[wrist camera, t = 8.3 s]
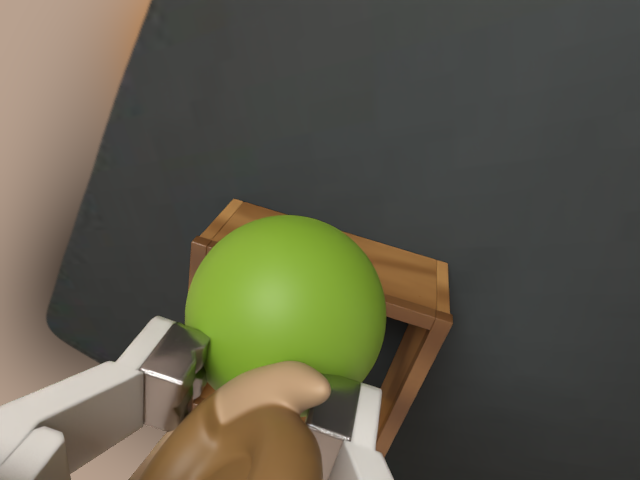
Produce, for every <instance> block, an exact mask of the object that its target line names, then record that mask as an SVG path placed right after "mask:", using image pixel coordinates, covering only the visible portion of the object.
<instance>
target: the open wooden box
mask: <svg viewBox="0 0 640 480" xmlns="http://www.w3.org/2000/svg"><path fill="white" fill-rule="evenodd" d="M278 215H286V214H283V213H280V212H276V211H273V210H270V209H267V208H263V207H260V206H257V205H253V204H250V203H247V202H243V201H240V200H237V199H233V200H232V201H231V202H230V203H229V204H228V206H227V207H226V208H225V209H224V210H223V211H222V212H221V213H220V214H219V215H218V217H217V218H216V219H215V220H214V221H213V222H212V223H211V224H210V225H209V227H208V228H207V229H206V230H205V231H204V232H203V233H202V234H201V235H200V236H196V237H195V239H194V240H193V241H192V242H191V257H190V272H189V287H188V292H189V288H190V285H191V282H192V280H193V277H194V275H195V273H196V271H197V269H198V267H199V265H200V264H201V262H202V261H203V259H204V258H205V256H206V255H207V254H208V253H209V251H210V250H211V249H212V248H213V247H214V246H215V245H216V244H217V243H218V242H219V241H220V240H221V239H222V238H224V237H225V236H226V235H228V234H229V233H230V232H232V231H234V230H235V229H237V228H239V227H240V226H242V225H245V224H247V223H249V222H252V221H254V220H258V219H261V218H265V217H270V216H278ZM342 232H343V231H342ZM343 233H344V234H346V235H347V236H348V237H350V238H351V239H352V240H353V241H354V242H355V243H356V244H357V245H358V246H359V247H360V248H361V249H362V250H363V251H364V253H365V254H366V255H367V257H368V258H369V260H370V261H371V263H372V264H373V266H374V268H375V270H376V272H377V274H378V277H379V279H380V282H381V285H382V288H383V292H384V297H385V303H386V317H390V318H393V319H396V320H399V321H402V322H406V323H409V325H408V327H407V329H406V331H405V334H404V336H403V338H402V340H401V343H400V345H399V347H398V350H397V352H396V354H395V356H394V359H393V361H392V363H391V366H390V368H389V370H388V372H387V375H386V377H385V379H384V382H383V384H382V386H381V388H380V389H381V390H382V399H381V408H380V416H379V425H378V433H377V441H376V451H378V452H381V453H382V455H383V457H385V455H386V453H387V451H388V450H389V448H390V446H391V444H392V442H393V440H394V438H395V436H396V434H397V432H398V430H399V428H400V426H401V424H402V422H403V420H404V418H405V416H406V414H407V412H408V410H409V409H410V407H411V405H412V403H413V401H414V399H415V397H416V395H417V393H418V391H419V389H420V387H421V385H422V383H423V381H424V379H425V377H426V375H427V373H428V371H429V369H430V367H431V366H432V364H433V362H434V360H435V358H436V356H437V354H438V352H439V350H440V348H441V346H442V344H443V342H444V340H445V338H446V336H447V334H448V332H449V330H450V328H451V326H452V325H453V315H452V314H450V302H449V280H448V263H445V262H442V261H438V260H437V261H436V260H435V259H432V258H429V257H425V256H422V255H419V254H415V253H412V252H409V251H405V250H402V249H399V248H396V247H392V246H389V245H386V244H382V243H379V242H376V241H372V240H369V239H366V238H362V237H359V236H356V235H353V234H349V233H346V232H343ZM214 392H215V390H214V389H213V388H212V387H211V385H210V384H209V383H208V382H207V384H206V386H205V388H204V390H203V392H202V394H201V395H200V396H199V397H198V398H196V399H194V400H193V402H192V410H193V409H194V408H195V407H196V406H197V405H199V404H200V403H201V402H202V401H203V400H204V399H206V398H207V397H208V396H210V395H211V394H213V393H214ZM300 418H301V419H302V420H303V421H304V423H305V420H306V416H305V417H300Z"/></svg>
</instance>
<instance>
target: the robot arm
mask: <svg viewBox="0 0 640 480" xmlns="http://www.w3.org/2000/svg"><path fill="white" fill-rule="evenodd" d="M209 343H210V337H209V336H207V335H206V334H205V333H203V332H202V331H201V330H198V329H195V328H192V327H190V326H187V325H184V324H181V323H178V322H175V321H172V320H169V319H166V318H163V317H160V316H156V317H154V318H153V319H151V320H150V322H149V323H148V324H147V325H146V326H145V328H144V329H143V330H142V331H141V332H140V334H139V335H138V336H137V337H136V338H135V340H134V341H133V342H132V343H131V344H130V345H129V347H128V348H127V349H126V350H125V351H124V353H123V354H122V355H121V356H120V357H119V359H118V360H117V361H116V362H112V361H107V362H105V363H103V364H100V365H98V366H96V367H93V368H91V369H88V370H86V371H83V372H81V373H79V374H76V375H74V376H71V377H69V378H67V379H64V380H62V381H59V382H57V383H55V384H52V385H50V386H47V387H45V388H43V389H41V390H38V391H36V392H33V393H31V394H28V395H26V396H24V397H21V398H19V399H17V400H14V401H12V402H9V403H7V404H4V405H2V406H0V480H71V478H70V474H71V473H72V472H74V471H76V470H77V469H79V468H80V467H82V466H83V465H85V464H86V463H88V462H89V461H91V460H93V459H94V458H96V457H97V456H99V455H100V454H102V453H103V452H105V451H106V450H108V449H109V448H111V447H112V446H114V445H116V444H117V443H119V442H120V441H122V440H123V439H125V438H126V437H128V436H129V435H131V434H132V433H134V432H135V431H137V430H139V429H140V428H142V427H143V424H145V425H148V426H151V427H154V428H158V429H161V430H164V431H167V432H170V431H174V430H175V429H176V428H177V427H178V425H179V424H180V423H181V422H182V421H183V420H184V418H185V416H186V415H187V414H189V413H190V412H191V411H192V402H193V400H194V399H196V398H198V397H199V396H200V395H201V394H202V392H203V390H204V388H205V386H206V384H207V377H206V370H205V368H204V364H205V362H206V361H207V355H208V349H209ZM321 374H322V375H323V376H324V377H325V378H326V379H327V380H328V382H329V383H330V386H331V394H330V396H329V398H328V399H327V400H326V401H325V402H323V403H322V404H320V405H318V406H315V407H312V408H309V410H308V413H307V416H306V420H305V424H306V425H307V426H308V427H309V429H310V430H311V431H312V433H313V434H314V436H315V438H316V440H317V442H318V445H319V448H320V451H321V456H322V466H323V480H394V478H393V476H392V474H391V472H390V470H389V467H388V465H387V463H386V461H385V459H384V457H383V455H382V453H381V452H378V451H376V441H377V433H378V425H379V416H380V408H381V399H382V390H381V389H380V388H377V387H374V386H371V385H367V384H364V383H360V382H359V381H356V380H352V379H349V378H346V377H343V376H340V375H333V374H324V373H321Z"/></svg>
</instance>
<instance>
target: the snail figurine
mask: <svg viewBox="0 0 640 480" xmlns="http://www.w3.org/2000/svg"><path fill="white" fill-rule="evenodd" d="M185 325H187V326H190V327H192V328H195V329H198V330H201V331H202V332H203V333H205V334H206V335H207V336H209V337H210V343H209V349H208V355H207V361H206V362H205V364H204V368H205V370H206V377H207V382H208V383H209V384H210V385H211V387H212V388H213V389H214V390H215V392H214V393H213V394H211V395H210V396H208V397H207V398H206V399H204V400H203V401H202V402H201V403H200V404H199V405H197V406H196V407H195V408H194V409H193V410H192V411H191V412H190V413H189V414H187V415H186V416H185V418H184V420H183V421H182V422H181V423H180V424H179V425H178V427H177V428H176V429H175V430H174V431H170V432H167V433H166V434H165V435H164V436H163V437H162V438H161V440H160V441H159V442H158V443H157V445H156V446H155V447H154V448H153V450H152V451H151V452H150V454H149V455H148V456H147V458H146V459H145V460H144V461H143V463H142V464H141V465H140V466H139V467H138V469H137V470H136V471H135V472H134V473H133V475H132V476H131V477H130V478H129V480H323V466H322V456H321V451H320V448H319V445H318V442H317V440H316V438H315V436H314V434H313V433H312V431H311V430H310V429H309V427H308V426H307V425H306V424H305V423H304V421H303V420H302V419H301V418H300V417H305V416H307V413H308V410H309V408H312V407H315V406H318V405H320V404H322V403H323V402H325V401H326V400H327V399H328V398H329V396H330V394H331V386H330V383H329V382H328V380H327V379H326V378H325V377H324V376H323V375H322V374H321V373H324V374H333V375H340V376H343V377H346V378H349V379H352V380H356V381H359V382H360V383H362V382H363V380H364V379H365V378H366V376H367V375H368V374H369V372H370V370H371V369H372V367H373V365H374V364H375V362H376V359H377V357H378V355H379V352H380V350H381V347H382V343H383V339H384V335H385V328H386V303H385V297H384V292H383V288H382V285H381V282H380V279H379V277H378V274H377V272H376V270H375V268H374V266H373V264H372V263H371V261H370V260H369V258H368V257H367V255H366V254H365V253H364V251H363V250H362V249H361V248H360V247H359V246H358V245H357V244H356V243H355V242H354V241H353V240H352V239H351V238H350V237H348V236H347V235H346V234H344V233H343V232H342V231H340V230H338V229H337V228H335V227H333V226H331V225H329V224H327V223H324V222H322V221H319V220H316V219H313V218H309V217H304V216H296V215H278V216H270V217H265V218H261V219H258V220H254V221H252V222H249V223H247V224H245V225H242V226H240V227H239V228H237V229H235V230H234V231H232V232H230V233H229V234H228V235H226V236H225V237H224V238H222V239H221V240H220V241H219V242H218V243H217V244H216V245H215V246H214V247H213V248H212V249H211V250H210V251H209V253H208V254H207V255H206V256H205V258H204V259H203V261H202V262H201V264H200V265H199V267H198V269H197V271H196V273H195V275H194V277H193V280H192V282H191V285H190V288H189V292H188V296H187V301H186V308H185Z"/></svg>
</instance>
